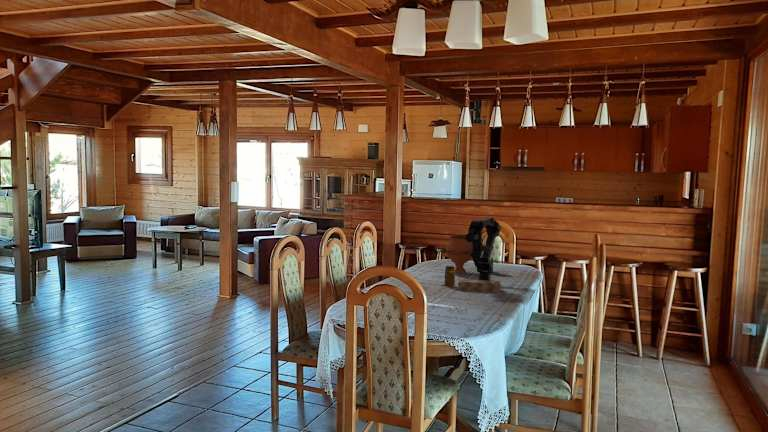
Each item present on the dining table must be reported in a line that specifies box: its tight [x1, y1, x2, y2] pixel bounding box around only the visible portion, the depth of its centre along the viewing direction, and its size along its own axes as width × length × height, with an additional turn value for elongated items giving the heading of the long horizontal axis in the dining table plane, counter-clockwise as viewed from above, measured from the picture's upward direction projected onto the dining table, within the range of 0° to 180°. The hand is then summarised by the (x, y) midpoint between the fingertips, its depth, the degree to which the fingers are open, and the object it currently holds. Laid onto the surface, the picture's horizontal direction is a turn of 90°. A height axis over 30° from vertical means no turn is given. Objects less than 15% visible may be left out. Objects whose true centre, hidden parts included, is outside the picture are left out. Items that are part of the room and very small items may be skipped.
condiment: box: [439, 265, 456, 288], centre depth 348 cm, size 7×8×12 cm
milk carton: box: [481, 245, 495, 270], centre depth 399 cm, size 9×9×20 cm
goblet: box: [445, 234, 472, 274], centre depth 395 cm, size 19×19×25 cm
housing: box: [457, 278, 501, 293], centre depth 338 cm, size 24×9×5 cm, turn 79°
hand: (476, 266), depth 350 cm, fingers closed
